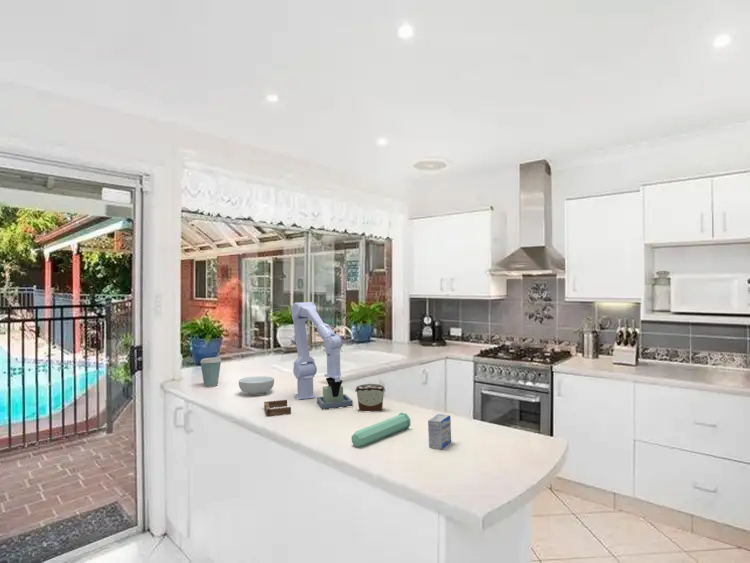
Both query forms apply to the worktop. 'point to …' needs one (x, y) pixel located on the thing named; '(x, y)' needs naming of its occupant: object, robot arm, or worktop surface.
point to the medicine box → (439, 431)
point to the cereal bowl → (256, 384)
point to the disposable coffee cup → (210, 371)
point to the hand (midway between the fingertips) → (334, 395)
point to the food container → (370, 397)
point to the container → (380, 430)
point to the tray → (335, 403)
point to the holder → (276, 410)
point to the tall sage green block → (329, 396)
